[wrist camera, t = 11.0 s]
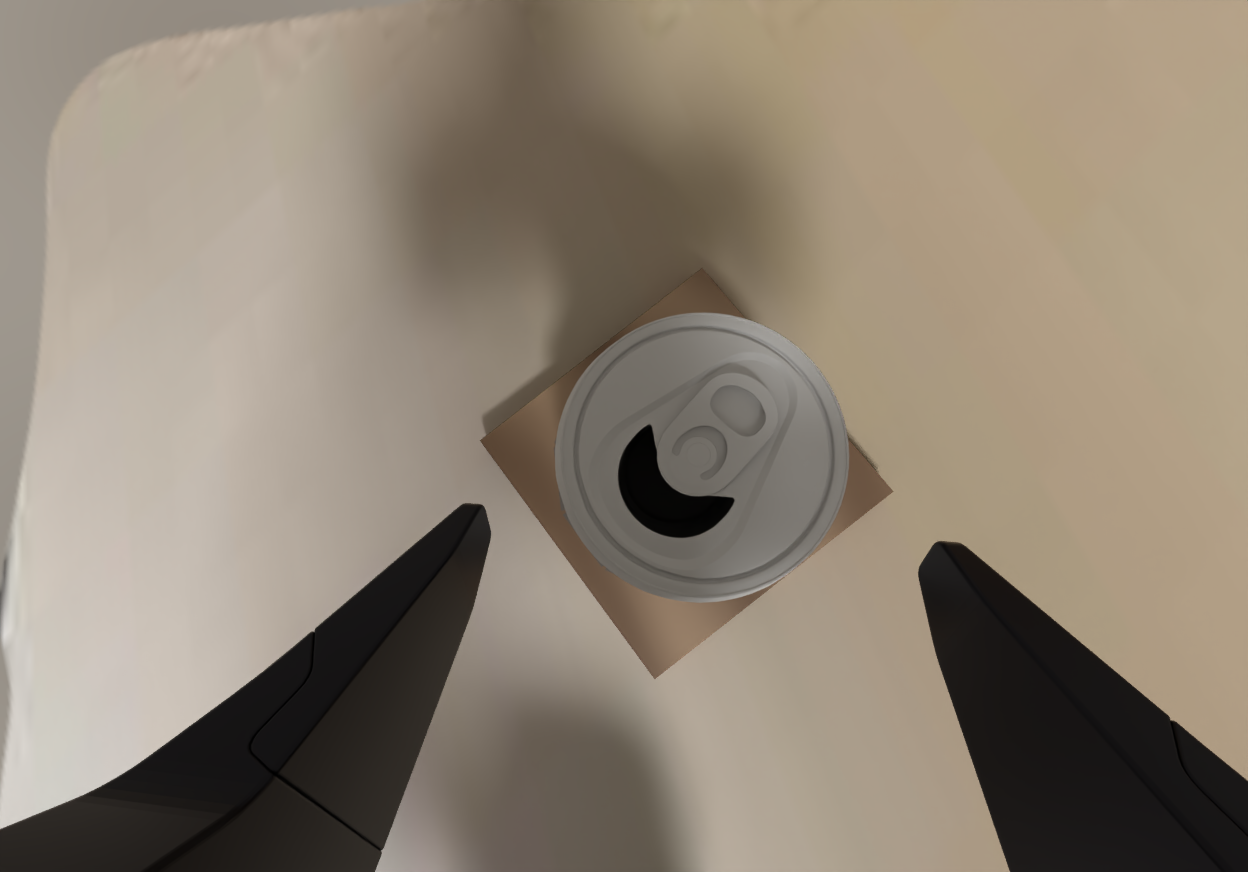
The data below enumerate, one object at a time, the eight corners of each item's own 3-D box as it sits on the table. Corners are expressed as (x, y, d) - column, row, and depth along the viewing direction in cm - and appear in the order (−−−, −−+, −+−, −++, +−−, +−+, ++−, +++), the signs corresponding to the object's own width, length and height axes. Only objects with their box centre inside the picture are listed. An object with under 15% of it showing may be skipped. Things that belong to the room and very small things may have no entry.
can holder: (654, 670, 21) (654, 719, 17) (487, 442, 23) (446, 432, 18) (882, 491, 21) (941, 492, 17) (700, 277, 23) (710, 227, 18)
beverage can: (575, 475, 21) (473, 464, 9) (670, 370, 22) (687, 229, 10) (682, 574, 21) (717, 696, 9) (779, 464, 21) (944, 437, 9)
